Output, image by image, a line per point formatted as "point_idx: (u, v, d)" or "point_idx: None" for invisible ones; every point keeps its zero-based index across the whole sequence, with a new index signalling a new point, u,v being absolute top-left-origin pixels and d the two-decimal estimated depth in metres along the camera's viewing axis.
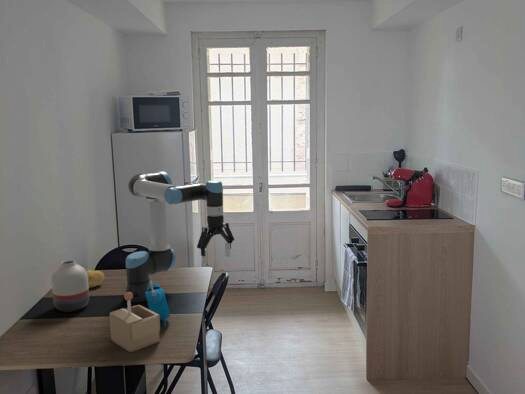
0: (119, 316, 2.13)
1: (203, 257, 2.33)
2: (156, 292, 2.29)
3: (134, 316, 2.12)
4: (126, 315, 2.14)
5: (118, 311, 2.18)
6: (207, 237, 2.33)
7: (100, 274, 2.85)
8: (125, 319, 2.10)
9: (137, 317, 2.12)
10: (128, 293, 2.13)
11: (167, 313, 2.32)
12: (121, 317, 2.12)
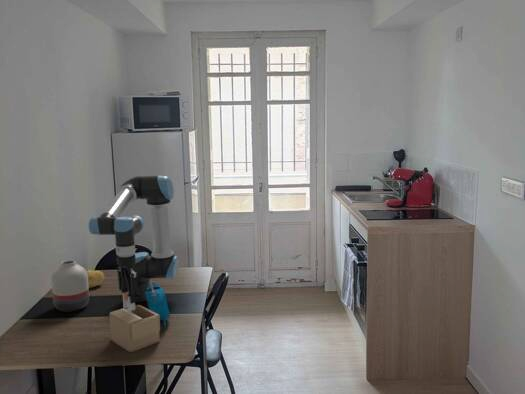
0: (119, 316, 2.13)
1: None
2: (156, 292, 2.29)
3: (134, 316, 2.12)
4: (126, 315, 2.14)
5: (118, 311, 2.18)
6: None
7: (100, 274, 2.85)
8: (125, 319, 2.10)
9: (137, 317, 2.12)
10: (128, 293, 2.13)
11: (167, 313, 2.32)
12: (121, 317, 2.12)
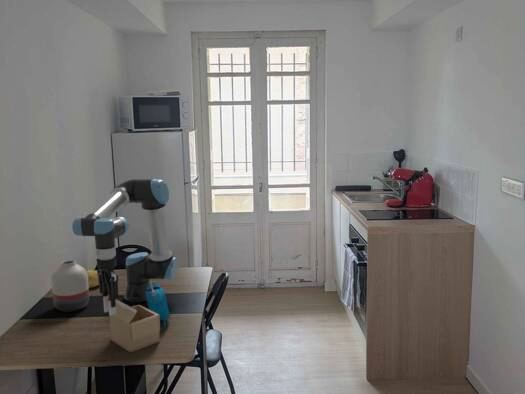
0: (117, 315, 2.13)
1: None
2: (156, 292, 2.29)
3: (130, 310, 2.10)
4: (122, 311, 2.13)
5: None
6: None
7: None
8: (123, 318, 2.09)
9: (132, 310, 2.10)
10: None
11: (167, 313, 2.32)
12: (119, 317, 2.11)
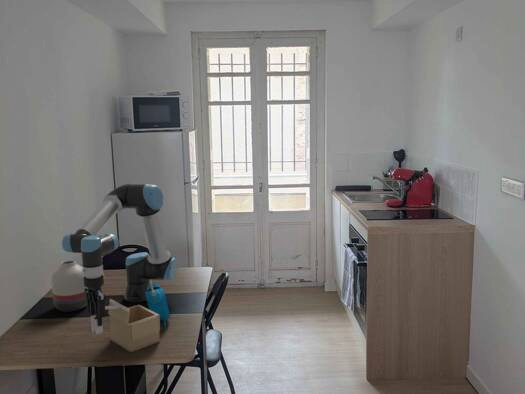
0: (116, 316, 2.12)
1: None
2: (156, 292, 2.29)
3: (123, 309, 2.08)
4: (118, 311, 2.11)
5: None
6: None
7: None
8: (121, 319, 2.09)
9: (125, 309, 2.07)
10: None
11: (167, 313, 2.32)
12: (118, 317, 2.11)
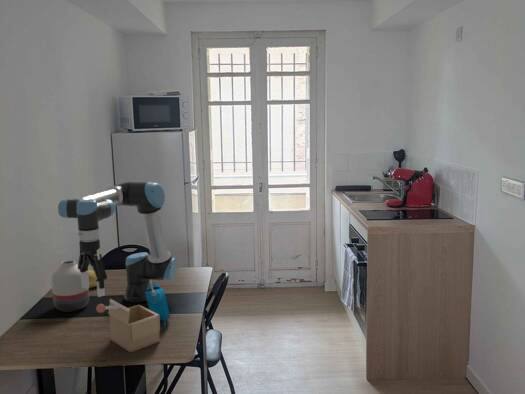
0: (116, 316, 2.12)
1: None
2: (156, 292, 2.29)
3: (123, 309, 2.08)
4: (118, 311, 2.11)
5: None
6: None
7: None
8: (121, 319, 2.09)
9: (125, 309, 2.07)
10: (98, 309, 2.04)
11: (167, 313, 2.32)
12: (118, 317, 2.11)
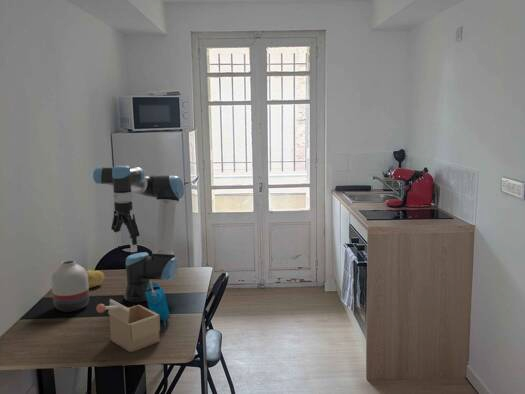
0: (116, 316, 2.12)
1: None
2: (156, 292, 2.29)
3: (123, 309, 2.08)
4: (118, 311, 2.11)
5: None
6: None
7: (100, 274, 2.85)
8: (121, 319, 2.09)
9: (125, 309, 2.07)
10: (98, 309, 2.04)
11: (167, 313, 2.32)
12: (118, 317, 2.11)
